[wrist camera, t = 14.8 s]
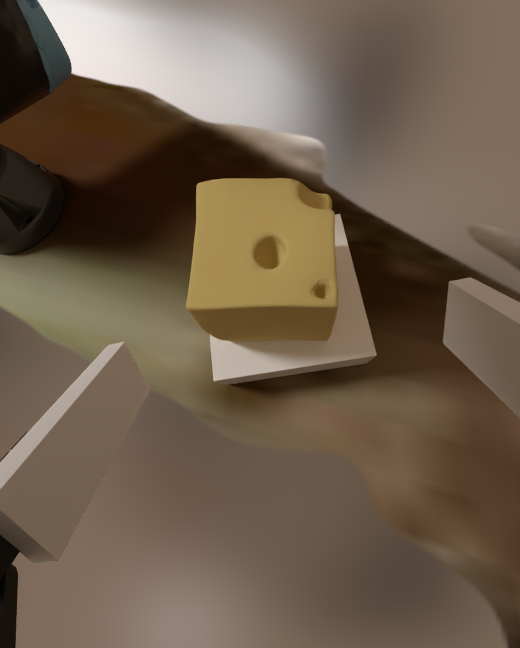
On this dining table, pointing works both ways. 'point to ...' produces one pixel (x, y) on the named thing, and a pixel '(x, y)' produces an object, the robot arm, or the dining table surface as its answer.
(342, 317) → the stand
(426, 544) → the dining table surface
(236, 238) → the cheese
